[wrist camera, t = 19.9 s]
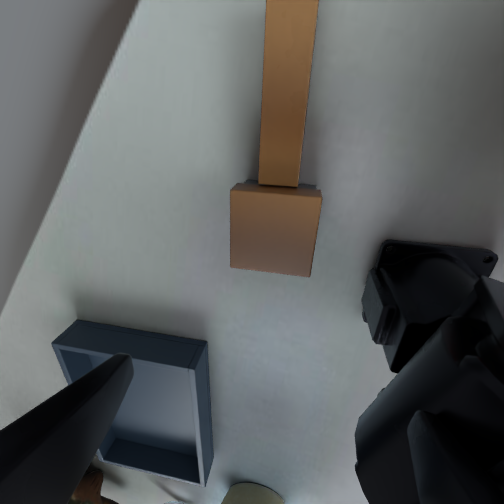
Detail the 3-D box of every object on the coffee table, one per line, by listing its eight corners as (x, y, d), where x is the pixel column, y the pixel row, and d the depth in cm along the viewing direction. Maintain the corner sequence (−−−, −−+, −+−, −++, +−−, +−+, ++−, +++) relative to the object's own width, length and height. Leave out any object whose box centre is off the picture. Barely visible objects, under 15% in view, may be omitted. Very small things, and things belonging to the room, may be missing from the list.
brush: (246, 11, 14) (229, -17, 11) (345, 10, 13) (356, -20, 10) (242, 244, 20) (230, 267, 17) (310, 252, 19) (310, 277, 16)
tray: (207, 341, 25) (194, 369, 22) (213, 457, 34) (205, 487, 31) (76, 319, 27) (50, 343, 24) (115, 434, 35) (99, 461, 33)
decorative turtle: (45, 435, 39) (-7, 506, 32) (141, 475, 42) (113, 550, 35) (32, 462, 43) (-18, 531, 36) (120, 497, 46) (90, 568, 39)
